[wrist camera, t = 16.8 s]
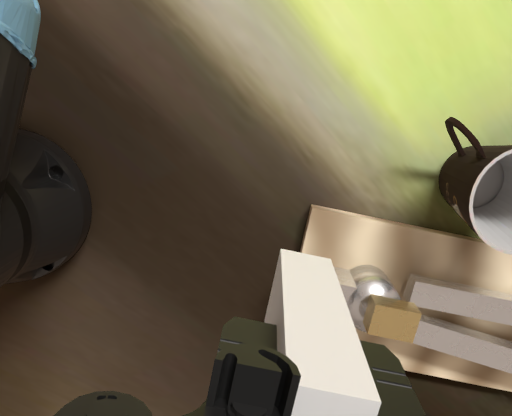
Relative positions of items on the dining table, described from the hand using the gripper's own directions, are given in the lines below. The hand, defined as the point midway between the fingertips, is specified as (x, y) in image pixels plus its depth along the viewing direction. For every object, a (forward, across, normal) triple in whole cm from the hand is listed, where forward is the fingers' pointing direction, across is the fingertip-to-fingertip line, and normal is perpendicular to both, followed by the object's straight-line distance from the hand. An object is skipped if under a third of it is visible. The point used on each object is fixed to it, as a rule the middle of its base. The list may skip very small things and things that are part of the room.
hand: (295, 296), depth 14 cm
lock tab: (+26, +12, -11) cm, 31 cm away
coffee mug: (+33, +18, +3) cm, 37 cm away
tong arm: (+30, +24, -14) cm, 41 cm away
